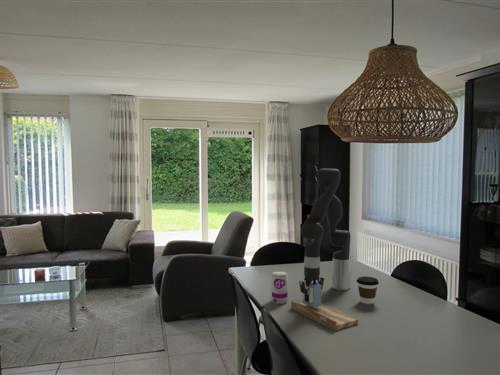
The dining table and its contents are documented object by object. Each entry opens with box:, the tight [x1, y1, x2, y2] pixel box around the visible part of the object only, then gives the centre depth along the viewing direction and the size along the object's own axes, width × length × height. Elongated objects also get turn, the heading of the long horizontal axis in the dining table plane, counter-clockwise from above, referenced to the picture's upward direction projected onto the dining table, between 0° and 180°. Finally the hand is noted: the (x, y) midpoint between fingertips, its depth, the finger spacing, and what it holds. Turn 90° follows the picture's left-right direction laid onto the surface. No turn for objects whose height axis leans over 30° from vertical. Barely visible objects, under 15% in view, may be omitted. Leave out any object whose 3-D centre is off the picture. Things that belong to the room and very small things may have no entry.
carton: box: [302, 284, 322, 308], centre depth 189 cm, size 8×5×10 cm, turn 32°
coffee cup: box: [356, 276, 380, 305], centre depth 202 cm, size 11×11×12 cm
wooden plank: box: [290, 300, 359, 332], centre depth 184 cm, size 14×30×4 cm, turn 32°
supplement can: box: [271, 270, 289, 305], centre depth 202 cm, size 8×8×15 cm
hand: (311, 300), depth 189 cm, fingers closed on carton, 5 cm apart
